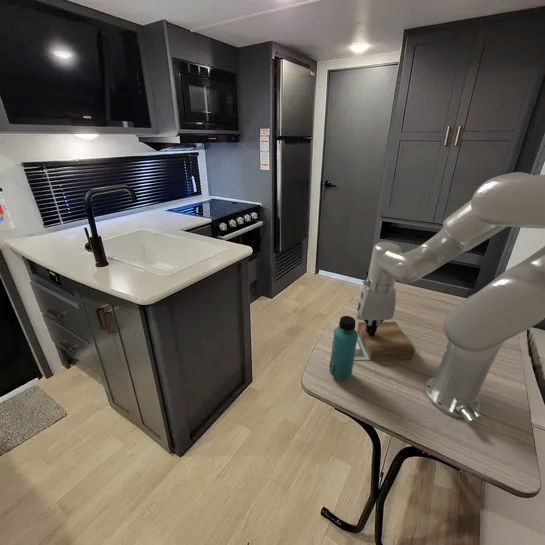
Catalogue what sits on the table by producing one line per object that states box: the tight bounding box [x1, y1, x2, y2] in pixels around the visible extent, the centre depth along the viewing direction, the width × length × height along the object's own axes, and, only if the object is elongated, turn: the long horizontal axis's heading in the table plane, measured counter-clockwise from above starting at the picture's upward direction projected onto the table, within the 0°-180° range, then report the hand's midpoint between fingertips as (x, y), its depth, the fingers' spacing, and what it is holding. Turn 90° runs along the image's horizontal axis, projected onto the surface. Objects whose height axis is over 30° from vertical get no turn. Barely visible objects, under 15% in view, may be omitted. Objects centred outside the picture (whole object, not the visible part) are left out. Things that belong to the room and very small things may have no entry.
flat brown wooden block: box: [356, 321, 416, 361], centre depth 94 cm, size 14×13×4 cm
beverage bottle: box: [328, 315, 359, 381], centre depth 78 cm, size 6×7×20 cm
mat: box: [354, 335, 371, 361], centre depth 93 cm, size 11×7×1 cm, turn 1°
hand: (370, 333), depth 92 cm, fingers closed
